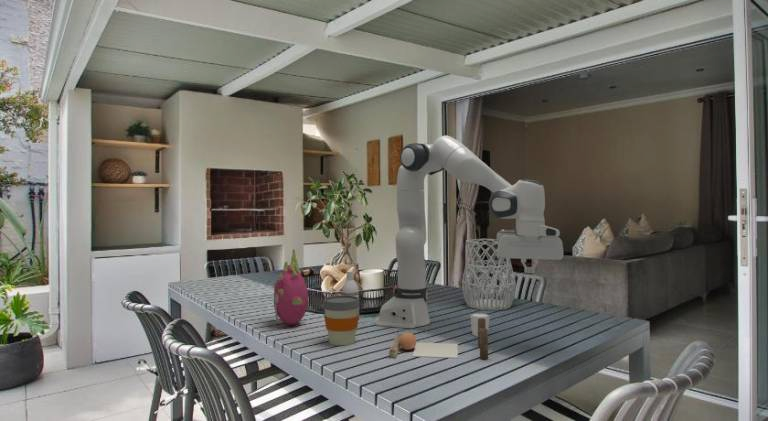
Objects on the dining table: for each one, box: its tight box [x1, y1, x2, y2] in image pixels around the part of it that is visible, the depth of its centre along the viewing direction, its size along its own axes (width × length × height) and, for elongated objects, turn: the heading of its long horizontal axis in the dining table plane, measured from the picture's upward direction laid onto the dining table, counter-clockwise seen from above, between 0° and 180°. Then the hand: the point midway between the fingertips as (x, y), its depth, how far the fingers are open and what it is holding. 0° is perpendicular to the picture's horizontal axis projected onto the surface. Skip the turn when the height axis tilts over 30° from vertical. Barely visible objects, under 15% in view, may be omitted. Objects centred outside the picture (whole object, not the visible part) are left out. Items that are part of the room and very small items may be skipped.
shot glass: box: [469, 312, 490, 337], centre depth 172 cm, size 7×7×7 cm
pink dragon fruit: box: [273, 249, 309, 326], centre depth 189 cm, size 18×14×30 cm
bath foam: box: [341, 270, 360, 320], centre depth 197 cm, size 7×7×20 cm
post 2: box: [479, 328, 489, 361], centre depth 146 cm, size 2×2×9 cm
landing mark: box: [412, 342, 459, 359], centre depth 155 cm, size 14×14×1 cm
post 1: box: [477, 318, 486, 348], centre depth 158 cm, size 2×2×9 cm
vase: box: [461, 238, 517, 311], centre depth 218 cm, size 24×24×30 cm
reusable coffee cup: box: [322, 295, 360, 346], centre depth 166 cm, size 13×13×15 cm
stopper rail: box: [389, 333, 404, 359], centre depth 157 cm, size 2×18×2 cm, turn 171°
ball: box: [399, 332, 417, 351], centre depth 156 cm, size 6×6×6 cm
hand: (529, 272), depth 152 cm, fingers closed
